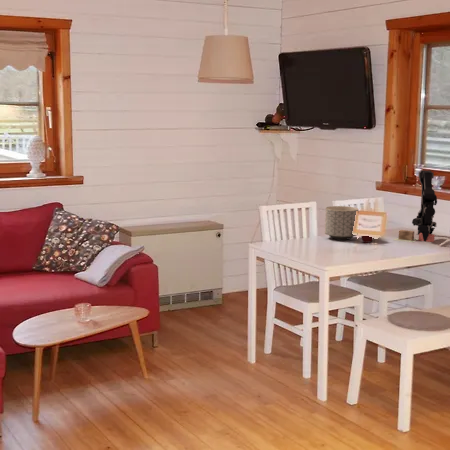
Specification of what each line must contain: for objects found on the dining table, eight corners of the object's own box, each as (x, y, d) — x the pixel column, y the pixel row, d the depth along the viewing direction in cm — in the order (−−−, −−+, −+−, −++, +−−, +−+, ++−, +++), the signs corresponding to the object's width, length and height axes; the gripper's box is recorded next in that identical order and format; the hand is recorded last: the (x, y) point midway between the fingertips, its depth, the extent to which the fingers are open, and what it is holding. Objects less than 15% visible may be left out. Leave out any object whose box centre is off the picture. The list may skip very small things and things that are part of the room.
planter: (331, 242, 433) (332, 211, 430) (319, 236, 452) (320, 206, 449) (362, 241, 438) (363, 210, 435) (349, 235, 456) (350, 205, 453)
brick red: (418, 242, 437) (418, 233, 436) (420, 241, 441) (421, 232, 440) (431, 243, 433) (432, 235, 432) (434, 242, 436) (434, 234, 435)
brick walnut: (398, 239, 440) (398, 230, 439) (400, 238, 443) (400, 229, 442) (411, 240, 436) (412, 232, 435) (413, 239, 439) (414, 231, 438)
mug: (371, 240, 440) (372, 223, 439) (380, 242, 433) (381, 225, 432) (357, 242, 435) (357, 224, 434) (366, 244, 428) (366, 227, 427)
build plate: (399, 238, 448) (399, 236, 447) (419, 240, 442) (419, 238, 442) (392, 241, 437) (393, 239, 437) (413, 243, 432) (413, 241, 431)
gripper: (418, 210, 446) (417, 236, 449) (409, 214, 430) (407, 241, 433) (437, 212, 440) (435, 238, 443) (428, 216, 424) (427, 243, 427)
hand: (426, 240), depth 437 cm, fingers open, 6 cm apart
